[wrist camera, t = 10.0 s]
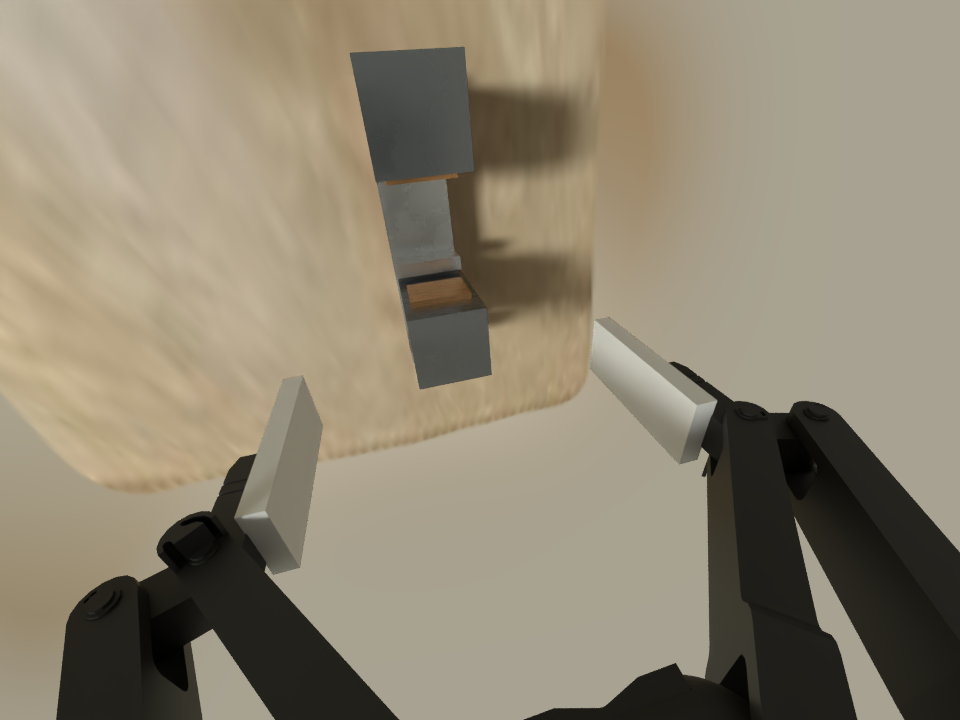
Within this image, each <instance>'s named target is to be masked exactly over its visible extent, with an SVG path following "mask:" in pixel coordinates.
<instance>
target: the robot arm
mask: <svg viewBox="0 0 960 720" xmlns="http://www.w3.org/2000/svg"><path fill="white" fill-rule="evenodd" d="M590 369H591V370H592V371H593V372H594V373H595V375H596V376H597V377H598V378H599V379H600V380H601V381H602V382H603V383H604V384H605V385H606V386H607V388H609V389H610V391H611V392H612V393H613V394H614V395H615V396H616V397H617V398H618V399H619V400H620V401H621V403H622V404H623V405H624V406H625V407H626V408H627V409H628V410H629V411H630V412H631V413H632V414H633V415H634V417H636V419H637V420H638V421H639V422H640V423H641V424H642V425H643V426H644V427H645V428H646V429H647V431H648V432H649V433H650V434H651V435H652V436H653V437H654V438H655V439H656V440H657V441H658V442H659V443H660V444H661V446H662V447H663V448H664V449H665V450H666V451H667V452H668V453H669V454H670V455H671V456H672V457H673V458H674V460H676V462H677V463H678V464H682V463H686V462H690V461H694V460H697V459H698V456H699V453H700V450H701V447H702V448H703V449H704V450H705V451H706V452H707V453H708V454H709V457H708V460H707V463H706V465H705V468H704V471H703V474H702V476H703V477H705V476H706V474H707V499H708V500H707V502H708V503H707V505H708V568H709V569H708V571H709V633H710V634H709V638H710V650H709V659H708V663H707V668H706V674H705V679H703V678H699V677H695V676H688V675H683V674H682V673H681V671H680V669H679V668H678V666H677V664H676V663H675V664H672V665H669V666H666V667H664V668H661V669H658V670H656V671H653V672H650V673H648V674H645V675H642V676H640V677H638V678H636V679H635V680H634V681H633V682H632V683H631V684H630V685H629V686H627V687H626V688H625V689H624V690H623V691H622V692H621V693H620V694H618V695H617V696H616V697H615V698H614V699H613V700H612V701H611V702H610V703H608V704H607V705H606V706H604V707H602V708H554V709H551V710H548V711H546V712H543V713H540V714H538V715H535V716H532V717H530V718H527V719H524V720H857V717H856V713H855V709H854V705H853V701H852V697H851V693H850V689H849V685H848V681H847V677H846V673H845V669H844V665H843V661H842V657H841V654H840V651H839V648H838V645H837V643H836V641H835V640H834V638H833V637H832V635H830V634H828V633H826V632H824V631H822V630H821V628H820V627H819V624H818V621H817V617H816V612H815V608H814V603H813V599H812V594H811V590H810V585H809V581H808V577H807V572H806V568H805V563H804V559H803V554H802V550H801V546H800V541H799V536H798V532H797V528H796V523H795V519H794V516H795V518H796V520H797V522H798V524H799V526H800V527H801V529H802V531H803V533H804V535H805V537H806V538H807V541H808V542H809V544H810V546H811V548H812V550H813V551H814V554H815V555H816V557H817V559H818V561H819V563H820V565H821V566H822V568H823V570H824V572H825V574H826V576H827V578H828V579H829V581H830V583H831V585H832V587H833V589H834V591H835V592H836V594H837V596H838V598H839V600H840V602H841V604H842V605H843V607H844V609H845V611H846V613H847V615H848V616H849V618H850V620H851V622H852V624H853V626H854V628H855V630H856V631H857V633H858V635H859V637H860V639H861V641H862V643H863V644H864V646H865V648H866V650H867V652H868V654H869V655H870V657H871V659H872V661H873V663H874V665H875V667H876V668H877V670H878V672H879V674H880V676H881V678H882V679H883V681H884V683H885V685H886V687H887V689H888V691H889V693H890V695H891V696H892V698H893V700H894V702H895V704H896V706H897V708H898V709H899V711H900V713H901V714H902V716H903V718H904V720H960V552H959V551H958V550H957V549H956V548H955V546H954V545H953V544H952V543H951V542H950V541H949V540H948V539H947V537H946V536H945V535H944V534H943V533H942V532H941V530H940V529H939V528H938V527H937V526H936V525H935V524H934V522H933V521H932V520H931V519H930V518H929V517H928V515H927V514H926V513H925V512H924V511H923V510H922V509H921V507H920V506H919V505H918V504H917V503H916V502H915V501H914V500H913V498H912V497H911V496H910V495H909V494H908V493H907V491H906V490H905V489H904V488H903V487H902V486H901V485H900V483H899V482H898V481H897V480H896V479H895V478H894V476H893V475H892V474H891V473H890V472H889V471H888V470H887V468H886V467H885V466H884V465H883V464H882V463H881V462H880V460H879V459H878V458H877V457H876V456H875V455H874V454H873V452H872V451H871V450H870V449H869V448H868V447H867V445H866V444H865V443H864V442H863V441H862V440H861V439H860V437H859V436H858V435H857V434H856V433H855V432H854V431H853V429H852V428H851V427H850V426H849V425H848V424H847V423H846V421H845V420H844V419H843V418H842V417H841V416H840V415H839V414H838V413H837V412H836V411H834V410H833V409H831V408H829V407H827V406H825V405H823V404H820V403H816V402H809V401H799V402H796V403H794V404H793V406H792V408H791V410H790V412H789V413H769V412H767V411H766V410H765V409H764V408H762V407H760V406H758V405H756V404H753V403H749V402H742V401H735V402H734V401H732V400H731V399H729V398H728V397H727V396H725V395H724V394H723V393H721V392H720V391H719V390H717V389H716V388H715V387H713V386H712V385H710V384H709V383H708V382H705V381H704V379H702V378H701V377H700V376H697V374H696V373H694V372H693V371H692V370H690V369H689V368H688V367H686V366H683V365H681V364H679V363H676V362H670V363H668V362H667V361H666V360H664V359H663V358H662V357H661V356H659V355H658V354H656V353H655V352H654V351H653V350H651V349H650V348H649V347H648V346H646V345H645V344H644V343H642V342H641V341H640V340H638V339H637V338H636V337H635V336H633V335H632V334H631V333H629V332H628V331H627V330H626V329H624V328H623V327H622V326H620V325H619V324H618V323H616V322H615V321H614V320H613V319H611V318H610V317H608V318H603V319H597V320H595V322H594V332H593V342H592V352H591V362H590ZM322 428H323V425H322V422H321V420H320V417H319V415H318V412H317V410H316V407H315V405H314V402H313V400H312V397H311V395H310V392H309V390H308V387H307V385H306V382H305V380H304V377H303V376H297V377H292V378H287V379H283V381H282V384H281V387H280V390H279V392H278V395H277V398H276V401H275V404H274V407H273V409H272V412H271V415H270V418H269V421H268V424H267V426H266V429H265V432H264V435H263V438H262V441H261V443H260V446H259V449H258V452H257V454H253V455H249V456H244V457H240V458H239V459H238V460H237V461H236V463H235V464H234V465H233V466H232V467H231V468H230V469H229V471H228V473H227V476H226V478H225V480H224V486H222V488H221V490H220V492H219V497H217V500H216V502H215V505H214V507H213V509H212V512H209V511H205V512H204V511H201V512H197V513H194V514H191V515H188V516H186V517H185V518H183V519H181V520H179V521H178V522H176V523H175V524H174V525H173V526H171V527H170V528H169V529H168V530H167V531H166V532H165V534H164V535H163V536H162V537H161V539H160V541H159V543H158V546H157V553H158V556H159V557H160V558H161V559H162V560H163V561H164V562H165V563H166V564H167V565H168V568H167V569H165V570H163V571H161V572H159V573H157V574H155V575H153V576H151V577H149V578H147V579H145V580H143V581H141V582H138V581H137V580H136V579H135V578H133V577H130V576H127V575H126V576H120V577H115V578H113V579H111V580H108V581H106V582H104V583H102V584H101V585H99V586H98V587H96V588H95V589H93V590H92V591H90V592H89V593H88V594H87V595H86V596H85V597H84V598H83V599H82V600H81V601H80V602H79V603H78V604H77V605H76V607H75V608H74V610H73V611H72V612H71V614H70V616H69V619H68V621H67V624H66V633H65V643H64V651H63V661H62V671H61V681H60V689H59V690H60V691H59V699H58V708H57V718H56V720H202V713H201V707H200V700H199V694H198V687H197V681H196V674H195V668H194V661H193V654H192V648H191V641H192V640H194V639H196V638H197V637H199V636H201V635H203V634H204V633H206V632H208V631H209V630H211V629H213V630H214V631H215V632H216V634H217V635H218V637H219V638H220V640H221V641H222V643H223V644H224V646H225V647H226V649H227V650H228V651H229V653H230V654H231V656H232V657H233V659H234V660H235V662H236V663H237V665H238V666H239V668H240V669H241V670H242V672H243V673H244V675H245V676H246V678H247V679H248V681H249V682H250V684H251V685H252V687H253V688H254V689H255V691H256V693H257V694H258V695H259V697H260V698H261V700H262V701H263V703H264V704H265V706H266V707H267V708H268V710H269V712H270V713H271V714H272V716H273V717H274V719H275V720H399V719H398V718H397V717H396V716H395V715H394V714H393V713H392V712H391V710H390V709H389V708H388V707H387V706H386V705H385V704H384V703H383V702H382V701H381V699H379V697H378V696H377V695H376V694H375V693H374V692H373V691H372V690H371V688H370V687H369V686H368V685H367V684H366V683H365V682H364V681H363V680H362V679H361V678H360V676H359V675H358V674H357V673H356V672H355V671H354V670H353V669H352V668H351V666H350V665H349V664H348V663H347V662H346V661H345V660H344V659H343V658H342V657H341V656H340V654H339V653H338V652H337V651H336V650H335V649H334V648H333V647H332V646H331V645H330V643H329V642H328V641H327V640H326V639H325V638H324V637H323V636H322V635H321V634H320V633H319V631H318V630H317V629H316V628H315V627H314V626H313V625H312V624H311V623H310V621H309V620H308V619H307V618H306V617H305V616H304V615H303V614H302V613H301V612H300V610H299V609H298V608H297V607H296V606H295V605H294V604H293V603H292V602H291V601H290V599H289V598H288V597H287V596H286V595H285V594H284V593H283V592H282V591H281V590H280V588H279V587H278V586H277V585H276V584H275V583H274V582H273V581H272V580H271V579H270V578H269V576H268V575H267V574H266V573H265V572H264V571H265V567H266V565H267V566H268V568H269V569H270V571H271V572H272V574H273V575H274V574H278V573H281V572H285V571H289V570H293V569H296V568H300V564H301V558H302V551H303V545H304V539H305V533H306V527H307V521H308V514H309V508H310V502H311V495H312V490H313V483H314V477H315V470H316V465H317V459H318V453H319V446H320V440H321V434H322Z"/></svg>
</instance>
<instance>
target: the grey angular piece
mask: <svg viewBox="0 0 960 720" xmlns="http://www.w3.org/2000/svg"><path fill="white" fill-rule="evenodd" d="M350 57H351V62H352V67H353V72H354V77H355V82H356V86H357V91H358V96H359V101H360V106H361V111H362V116H363V121H364V126H365V131H366V136H367V141H368V145H369V150H370V155H371V160H372V165H373V170H374V175H375V180H376V182H377V186H378V191H379V196H380V200H381V205H382V210H383V215H384V220H385V225H386V230H387V235H388V240H389V245H390V250H391V255H392V260H393V265H394V270H395V275H396V279H397V284H398V289H399V294H400V299H401V304H402V309H403V314H404V319H405V324H406V329H407V334H408V339H409V344H410V349H411V354H412V359H413V362H414V358H413V353H412V348H411V343H410V338H409V333H408V328H407V323H406V318H405V312H404V307H403V302H402V297H401V292H400V287H399V282H398V279H401V278H407V277H414V276H420V275H426V274H433V273H439V272H446V271H452V270H458V269H462V268H461V259H460V255H459V254H458V253H457V251H456V250H455V249H454V244H453V235H452V226H451V218H450V209H449V200H448V192H447V183H446V179H450V178H458V173H465V172H474V162H473V150H472V137H471V124H470V112H469V99H468V86H467V73H466V61H465V48H464V47H453V48H434V49H415V50H396V51H377V52H357V53H350Z"/></svg>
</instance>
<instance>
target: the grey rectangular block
mask: <svg viewBox="0 0 960 720" xmlns="http://www.w3.org/2000/svg"><path fill="white" fill-rule="evenodd" d="M398 282H399V287H400V292H401V297H402V302H403V307H404V312H405V318H406V323H407V328H408V333H409V338H410V343H411V348H412V353H413V358H414V363H415V368H416V373H417V378H418V383H419V388H420V389H425V388H430V387H435V386H440V385H444V384H449V383H454V382H459V381H464V380H469V379H474V378H479V377H483V376H488V375H492V373H491V359H490V345H489V331H488V317H487V307H486V306H485V305H484V303H483V302H482V300H481V299H480V298H479V296H478V295H477V293H476V292H475V290H474V289H473V288H472V286H471V285H470V283H469V282H468V281H467V279H466V278H465V276H464V275H463V273H462V272H461V271H460V269H458V270H452V271H446V272H439V273H433V274H426V275H420V276H414V277H407V278H401V279H398Z"/></svg>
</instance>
